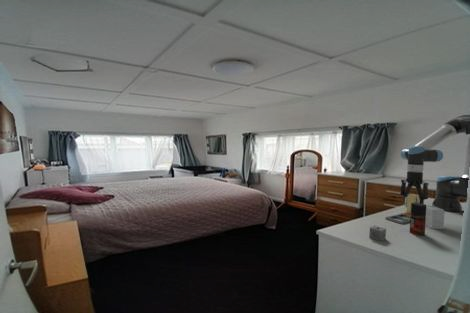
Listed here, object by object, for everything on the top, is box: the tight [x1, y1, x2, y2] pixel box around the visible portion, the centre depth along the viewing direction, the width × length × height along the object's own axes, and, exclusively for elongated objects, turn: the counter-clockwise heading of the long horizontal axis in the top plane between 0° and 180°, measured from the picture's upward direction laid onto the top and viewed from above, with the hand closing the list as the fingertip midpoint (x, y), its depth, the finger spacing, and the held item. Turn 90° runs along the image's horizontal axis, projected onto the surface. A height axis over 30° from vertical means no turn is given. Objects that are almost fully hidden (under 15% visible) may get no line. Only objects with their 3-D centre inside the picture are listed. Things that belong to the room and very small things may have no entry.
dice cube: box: [369, 225, 387, 242], centre depth 105 cm, size 5×5×5 cm
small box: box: [425, 205, 445, 230], centre depth 121 cm, size 8×6×10 cm
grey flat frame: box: [385, 211, 410, 225], centre depth 133 cm, size 24×9×2 cm, turn 115°
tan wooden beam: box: [406, 193, 420, 216], centre depth 136 cm, size 4×4×14 cm
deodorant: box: [409, 203, 428, 237], centre depth 111 cm, size 6×6×15 cm
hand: (412, 208), depth 136 cm, fingers open, 6 cm apart
